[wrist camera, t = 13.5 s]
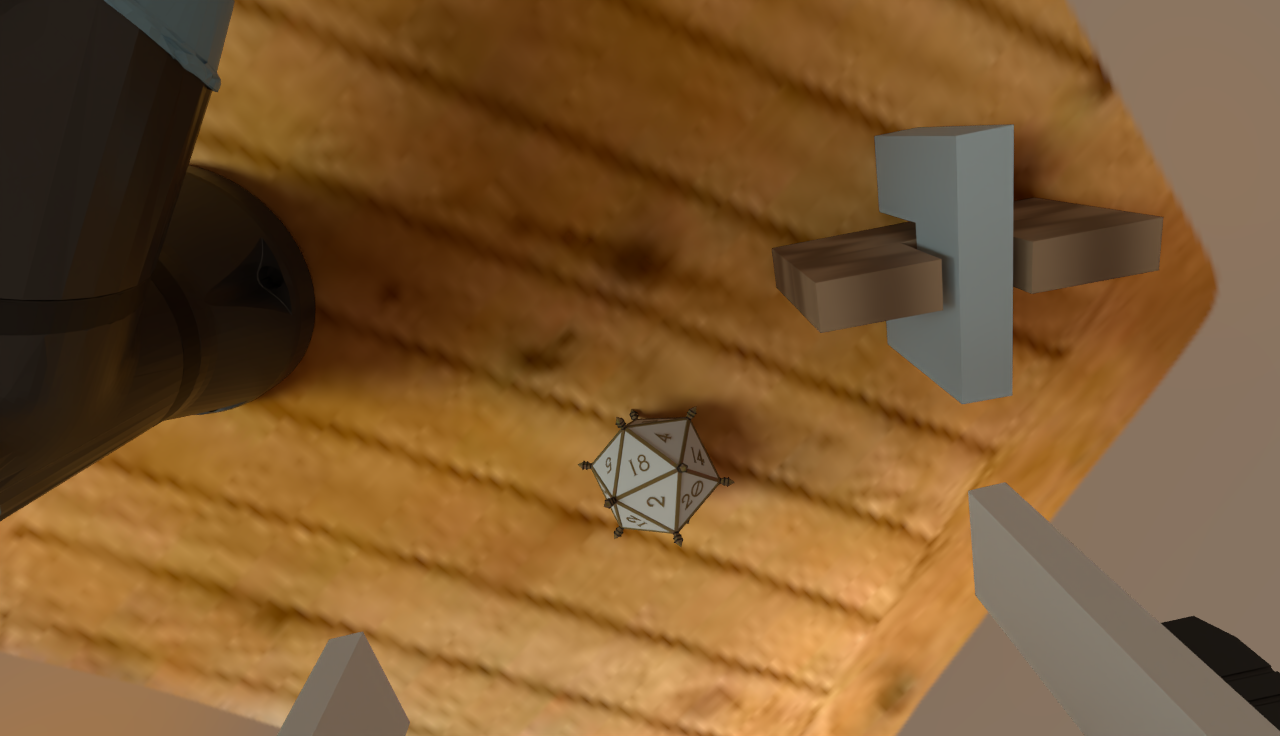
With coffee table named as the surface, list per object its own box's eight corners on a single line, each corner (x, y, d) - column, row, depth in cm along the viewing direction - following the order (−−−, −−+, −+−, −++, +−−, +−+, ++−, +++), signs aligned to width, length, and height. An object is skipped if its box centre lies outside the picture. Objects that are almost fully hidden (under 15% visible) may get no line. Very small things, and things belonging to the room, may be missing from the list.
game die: (655, 397, 47) (714, 367, 38) (707, 502, 47) (781, 498, 37) (546, 451, 43) (582, 433, 34) (602, 566, 43) (654, 578, 34)
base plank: (776, 287, 40) (820, 333, 31) (771, 248, 40) (815, 283, 30) (1033, 238, 40) (1158, 270, 30) (1034, 197, 39) (1163, 217, 29)
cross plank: (887, 344, 42) (962, 404, 32) (874, 136, 37) (955, 136, 28) (926, 337, 42) (1012, 395, 32) (917, 127, 37) (1013, 124, 28)
